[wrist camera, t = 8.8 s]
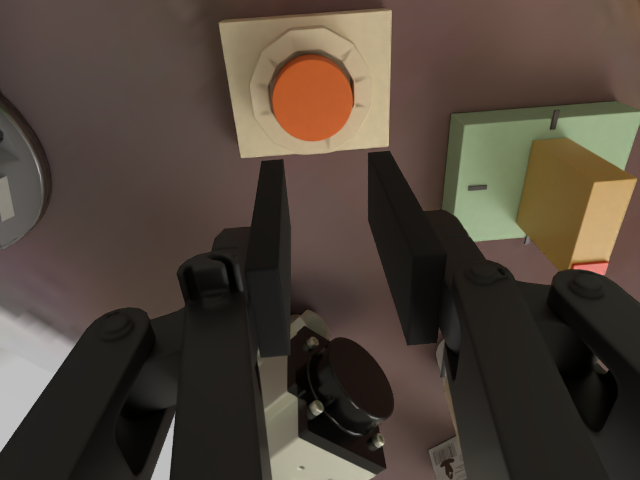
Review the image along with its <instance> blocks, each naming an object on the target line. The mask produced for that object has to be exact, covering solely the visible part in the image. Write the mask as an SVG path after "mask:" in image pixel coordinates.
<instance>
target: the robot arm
mask: <svg viewBox="0 0 640 480" xmlns="http://www.w3.org/2000/svg"><path fill="white" fill-rule="evenodd" d="M50 194H51V175H50V169H49V165H48V162H47V158H46V155H45V153H44V151H43V148H42V146H41V144H40V142H39V140H38V138H37V136H36V135H35V133H34V132H33V130H32V129H31V127H30V126H29V124H28V123H27V122H26V120H25V119H24V118H23V117H22V116H21V114H20V113H19V112H18V111H17V110H16V109H15V108H14V107H13V106H12V105H11V104H10V103H9V102H8V101H7V100H6V99H5V98H4V97H3V96H2V95H0V250H2V249H5V248H7V247H8V246H10V245H12V244H13V243H15V242H17V241H18V240H20V239H21V238H22V237H24V236H25V235H26V234H27V233H28V232H29V231H30V230H31V229H32V228H33V227H34V226H35V225H36V224H37V223H38V222H39V221H40V219H41V218H42V216H43V215H44V213H45V211H46V209H47V207H48V203H49V200H50ZM368 221H369V224H370V228H371V231H372V234H373V237H374V240H375V243H376V247H377V250H378V253H379V256H380V259H381V263H382V266H383V269H384V272H385V275H386V278H387V282H388V285H389V288H390V291H391V294H392V298H393V301H394V304H395V307H396V310H397V313H398V317H399V320H400V323H401V326H402V329H403V333H404V336H405V339H406V342H407V345H417V344H429V343H437V339H438V330H439V328H440V330H441V332H442V335H443V337H444V340H445V342H444V350H443V358H442V366H441V376H440V377H445V373H447V379H448V384H449V389H450V394H451V399H452V405H453V410H454V415H455V420H456V425H457V430H458V436H459V441H460V446H461V451H462V456H463V461H464V467H465V472H466V477H467V480H640V303H639V302H638V301H637V300H635V299H634V298H633V297H632V296H630V295H629V294H628V293H627V292H626V291H624V290H623V289H622V288H621V287H620V286H618V285H617V284H616V283H615V282H613V281H612V280H610V279H608V278H607V277H605V276H603V275H600V274H598V273H595V272H592V271H588V270H581V269H567V270H563V271H560V272H558V273H557V274H556V275H555V276H554V277H553V279H552V283H551V285H542V284H534V283H526V282H521V281H516V280H515V278H514V276H513V275H512V273H511V272H510V271H509V270H508V269H507V268H506V267H504V266H502V265H501V264H499V263H496V262H493V261H489V260H486V259H485V257H484V256H483V254H482V253H481V251H480V250H479V249H478V247H477V246H476V244H475V243H474V241H473V240H472V238H471V237H469V234H468V233H467V231H466V230H465V229H464V227H463V225H462V224H461V222H460V221H459V219H458V218H457V217H456V216H454V215H452V214H451V213H449V212H447V211H446V210H435V211H423V210H422V208H421V206H420V204H419V203H418V201H417V199H416V197H415V195H414V194H413V192H412V190H411V188H410V187H409V185H408V183H407V181H406V179H405V178H404V176H403V174H402V172H401V170H400V169H399V167H398V165H397V163H396V162H395V160H394V158H393V156H392V154H391V153H390V151H383V152H371V153H368ZM177 277H178V280H179V284H180V287H181V291H182V294H183V297H184V301H185V307H184V308H182V309H180V310H178V311H176V312H173V313H171V314H168V315H164V316H161V317H158V318H154V319H151V320H150V319H149V317H148V315H147V312H145V311H143V310H141V309H139V308H131V307H129V308H122V309H117V310H114V311H111V312H109V313H106V314H104V315H103V316H101V317H100V318H98V319H96V320H95V321H94V322H93V323H92V324H91V325H90V326H89V327H88V328H87V329H86V331H85V332H84V334H83V335H82V336H81V338H80V339H79V341H78V342H77V344H76V345H75V346H74V348H73V349H72V351H71V352H70V354H69V355H68V356H67V358H66V359H65V361H64V362H63V364H62V365H61V366H60V368H59V369H58V371H57V372H56V374H55V375H54V376H53V378H52V379H51V381H50V382H49V384H48V385H47V386H46V388H45V389H44V391H43V392H42V394H41V395H40V396H39V398H38V399H37V401H36V402H35V404H34V405H33V406H32V408H31V410H30V411H29V412H28V414H27V415H26V417H25V418H24V419H23V421H22V422H21V424H20V425H19V427H18V428H17V430H16V431H15V432H14V434H13V435H12V437H11V438H10V439H9V441H8V442H7V444H6V445H5V447H4V448H3V449H2V451H1V452H0V480H151V477H152V474H153V472H154V469H155V466H156V464H157V461H158V458H159V455H160V452H161V450H162V447H163V444H164V442H165V439H166V436H167V433H168V431H169V428H170V425H171V422H172V420H173V417H174V414H175V424H174V436H173V446H172V458H171V469H170V480H272V473H271V464H270V456H269V447H268V439H267V430H266V422H265V413H264V405H263V396H262V388H261V379H260V371H259V366H258V361H257V354H258V347H259V353H260V358H266V357H278V356H289V355H290V302H291V225H290V216H289V207H288V198H287V189H286V180H285V171H284V162H283V159H281V160H268V161H262V162H261V168H260V174H259V180H258V186H257V193H256V199H255V205H254V211H253V217H252V224H251V227H240V228H228V229H224V230H223V231H222V232H221V233H220V234H219V235H218V236H217V237H216V238H215V240H214V243H213V246H212V251H211V252H207V253H203V254H200V255H196V256H194V257H192V258H190V259H188V260H187V261H185V262H184V263H183V264H182V265H181V266H180V267H179V269H178V271H177ZM598 358H599V359H600V360H601V362H602V363H603V364H604V365H605V366H606V367H607V368H608V369H609V370H608V372H606V371H605V370H604V369H603V368H602V367H601V366H600V365H599V364H598V363H597V361H598ZM175 411H176V413H175Z"/></svg>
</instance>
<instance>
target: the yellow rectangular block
mask: <svg viewBox="0 0 640 480" xmlns="http://www.w3.org/2000/svg"><path fill="white" fill-rule="evenodd" d="M636 181H637V178H635V177H634V176H632V175H630V174H629V173H627V172H625V171H624V170H622V169H620V168H618V167H617V166H615V165H613V164H612V163H610V162H608V161H606V160H605V159H603V158H601V157H600V156H598V155H596V154H595V153H593V152H591V151H589V150H588V149H586V148H584V147H583V146H581V145H579V144H577V143H576V142H574V141H572V140H571V139H569V138H557V139H545V140H533V142H532V147H531V152H530V157H529V162H528V167H527V172H526V177H525V182H524V187H523V192H522V196H521V201H520V206H519V211H518V216H517V221H516V224H517V225H518V226H519V227H520V228H521V229H522V230H523V232H524V233H525V234H526V235H527V236H528V237H529V238H530V239H531V240H532V241H533V243H534V244H535V245H536V246H537V247H538V248H539V249H540V250H541V251H542V252H543V254H544V255H545V256H546V257H547V258H548V259H549V260H550V261H551V262H552V263H553V265H554V266H555V267H556V268H557V269H558V270H559V271H563V270H567V269H581V270H588V271H592V272H595V273H598V274H600V275H605V272H606V269H607V267H608V264H609V262H608V261H609V258H610V255H611V252H612V249H613V246H614V244H615V241H616V238H617V235H618V232H619V229H620V227H621V224H622V221H623V218H624V215H625V212H626V210H627V207H628V204H629V201H630V198H631V195H632V193H633V190H634V187H635V184H636Z"/></svg>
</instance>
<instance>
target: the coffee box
mask: <svg viewBox="0 0 640 480" xmlns="http://www.w3.org/2000/svg"><path fill="white" fill-rule="evenodd" d="M428 451H429V455H430V458H431V462H432V465H433V469H434V472H435V476H436V480H467V477H466V472H465V467H464V461H463V456H462V451H461V448H460V447H459V443H458V440H457V436H455V437H453V438H451V439H449V440H447V441H445V442H444V443H442V444H440V445H438V446H436V447H434V448H432V449H430V450H428Z"/></svg>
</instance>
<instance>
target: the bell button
mask: <svg viewBox="0 0 640 480" xmlns="http://www.w3.org/2000/svg"><path fill="white" fill-rule="evenodd" d="M352 105H353V96H352V90H351V87H350V84H349V82H348V80H347V78H346V76H345V74H344V72H343V71H342V69H341V68H340V67H339V66H338V65H337V64H336V63H335V62H334V61H332V60H331V59H329V58H327V57H325V56H321V55H317V54H306V55H301V56H298V57H296V58H294V59H292V60H290V61H289V62H288V63H287V64H285V65H284V67H283V68H282V69H281V70H280V72H279V73H278V75H277V77H276V80H275V83H274V88H273V94H272V106H273V111H274V114H275V117H276V119H277V121H278V123H279V124H280V126H281V127H282V128H283V129H284V130H285V131H286V132H287V133H288V134H290V135H291V136H293V137H295V138H297V139H300V140H304V141H321V140H325V139H327V138H330V137H331V136H333V135H335V134H336V133H337V132H339V131H340V130H341V129H342V128H343V126H344V125H345V124H346V122H347V120H348V119H349V116H350V114H351V110H352Z"/></svg>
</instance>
